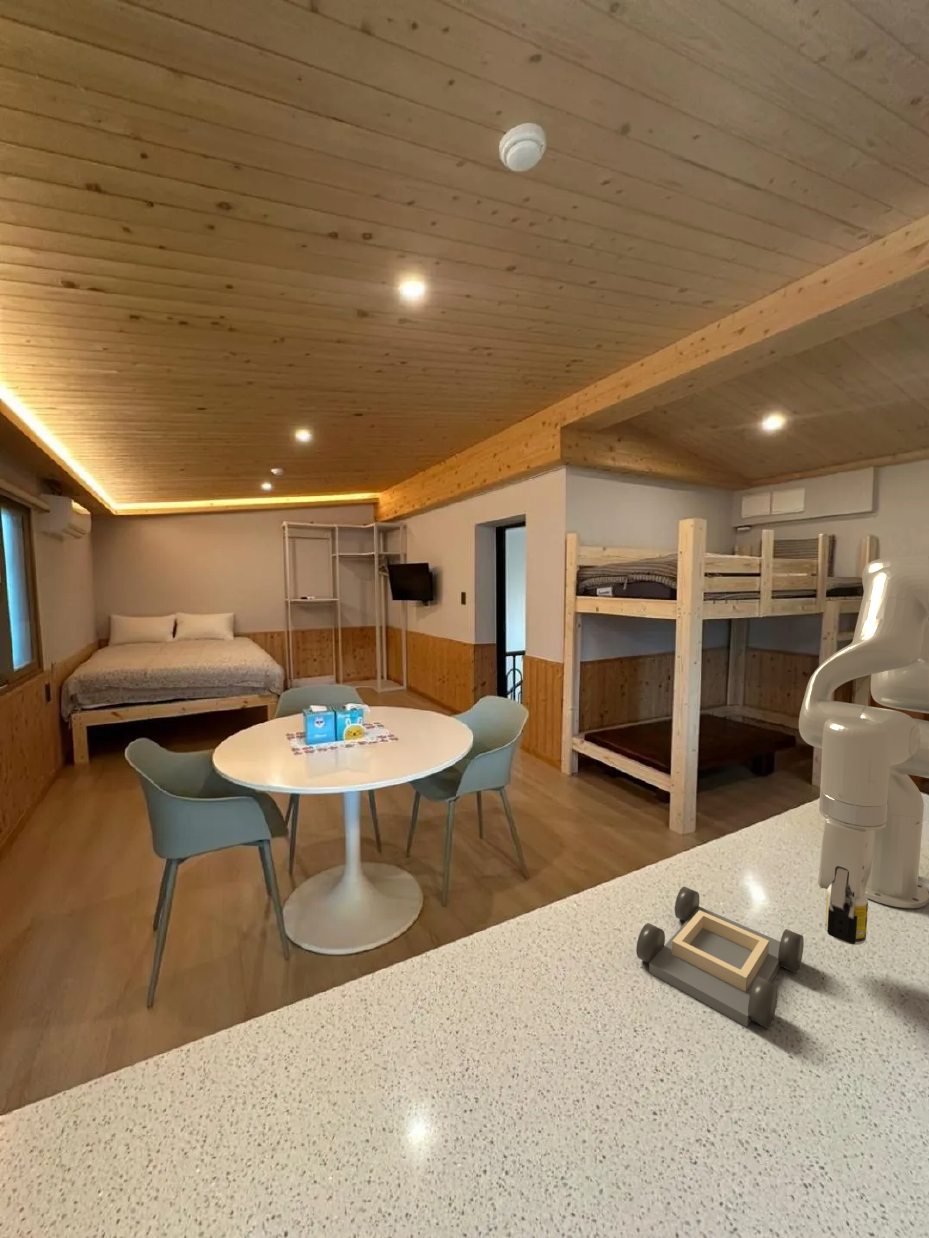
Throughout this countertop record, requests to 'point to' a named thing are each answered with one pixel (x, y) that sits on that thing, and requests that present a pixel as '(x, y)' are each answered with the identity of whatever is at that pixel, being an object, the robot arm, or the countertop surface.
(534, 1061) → the countertop surface
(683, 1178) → the countertop surface
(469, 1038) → the countertop surface
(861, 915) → the supplement bottle
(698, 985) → the toy chassis
